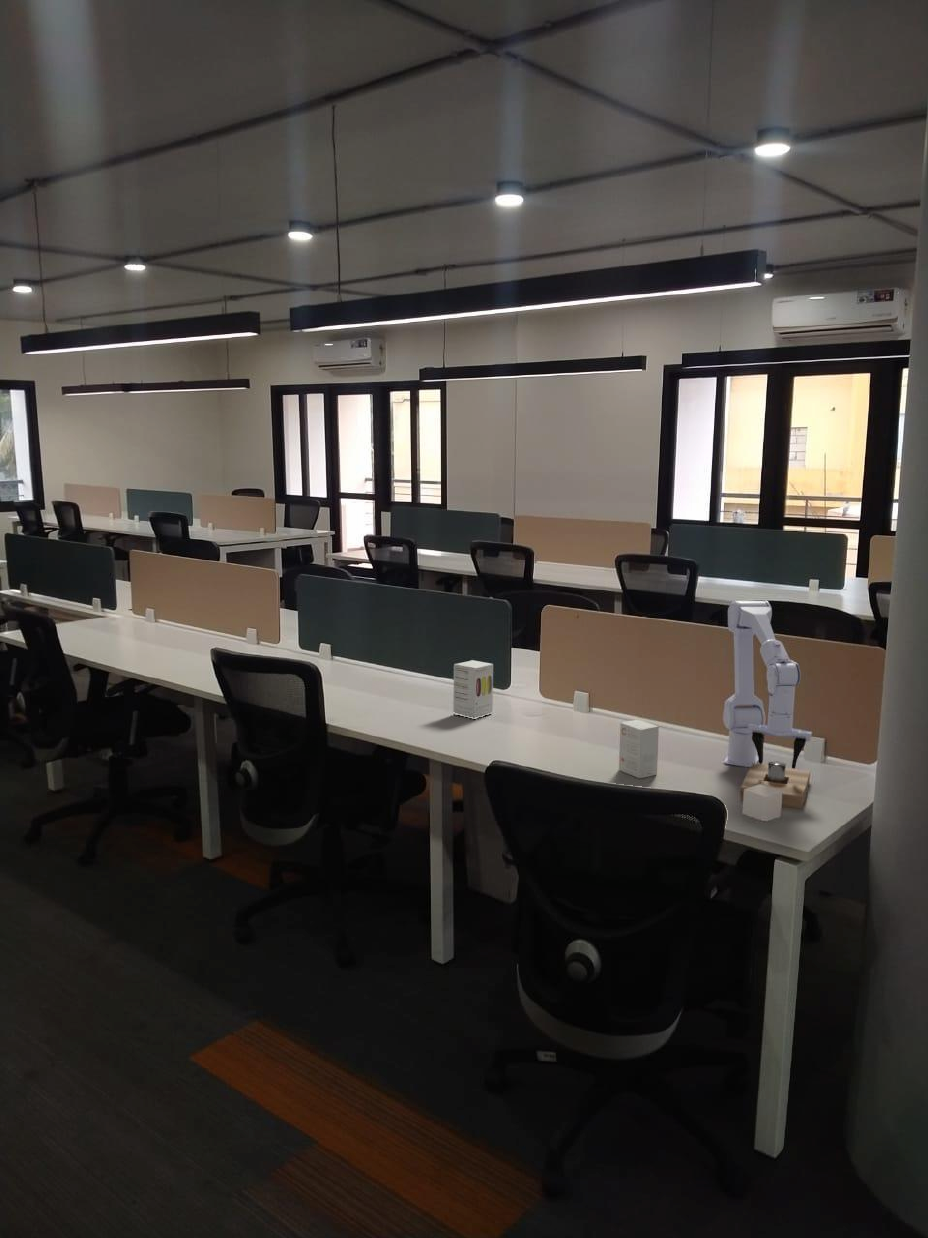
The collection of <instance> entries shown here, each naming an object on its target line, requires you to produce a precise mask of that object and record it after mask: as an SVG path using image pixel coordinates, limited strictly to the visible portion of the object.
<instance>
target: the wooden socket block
mask: <svg viewBox="0 0 928 1238" xmlns="http://www.w3.org/2000/svg"><path fill="white" fill-rule="evenodd" d="M810 777H811V771H810V770H803V769H796V768H795V769H793V768H790V767H786V769H785V783H784V784H782V783H775V782H768V781H767V779H768V765H767V764H763V763H762V764H759V763H757V764H755V763H752V765H751V767H749V770H748V772H747V773H746V776H745V778H744V779H743V782H742V784H741V786H740V791H739V792H740V793H739V800H741V799H743V797H744V789H747V788H750V787H753V786H756V785H759V784H761V785H764V786H767V787H770V788H773V789H776V790H779V791H782V806H781V807H786V808H792V809H799V810H802V809H803V806H804V803H805V800H806V795H807V792H808V789H809V786H810Z"/></svg>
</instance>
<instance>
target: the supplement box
mask: <svg viewBox="0 0 928 1238" xmlns="http://www.w3.org/2000/svg"><path fill="white" fill-rule="evenodd" d="M493 690H494V664H493V663H492V662H491V663H489V662H484V661H479V660H474V659H471V660H469V661H464V662H458V663H454V664H453V698H452V699H453V701H452V704H453V707H452V708H453V709H452V710H453V712H455V713H458V714H462V715H465V716H469V717H473V718H475V717H478V716H482V715H485V714H488V713H491V712H492V713H493V696H494V695H493V694H494V691H493Z"/></svg>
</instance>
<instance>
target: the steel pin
mask: <svg viewBox="0 0 928 1238" xmlns="http://www.w3.org/2000/svg"><path fill="white" fill-rule="evenodd" d="M767 764H768V779H767V781H768V782H775V783H782V784H784V783H785V769H786V768H787V767H786V766H787V765H786V763H785V762H782V761H777V760H770V761H769V762H768V763H767Z"/></svg>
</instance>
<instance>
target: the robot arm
mask: <svg viewBox="0 0 928 1238" xmlns="http://www.w3.org/2000/svg"><path fill="white" fill-rule="evenodd" d="M772 610H773V609H772V606H771V604H770V602H769V601H768V600H738V601H737V600H733V601H731V603H730V604H729V606H728V609H727V627H728V631H729V632H731V633H733V656H734V657H733V658H734V663H733V664H734V665H733V666H734V694H732V695H731V696H730V697H728V698H727V699H726V700H725V701H724V707H723V708H724V709H723V712H722V722H723V725H724V727H726V728H725V729H727V730H728V747H727V756H726V758H725V759H724V761H723V763H724V764H727V765H733V766H737V767H738V766H739V767H746V768H750V767H751V765H752V763H755V764H762V765H763V761H764V743H765V736H771V737H778V738H785V739H786V738H787V739H794V741H793V757H792V761H791V769H796V765H797V761H798V759H799V756H800V754H801V752H802V750H803V749H804V748H805V747H804V746H806V743H807V742H811V741H812V733H813V732H812V731H808V730H803V729H798V728H794V727H793V723H794V709H795V696H796V695H795V693H796V687H798V686H799V684H800V683H801V679H802V675H801V674H802V673H801V672H802V671H801V669H800V665H799V664H798V662H796V661H794V659H790V657H789V655H788V653H787V650H786V648H785V646H784V644H783V642H782V641H780V640H777V639H776V636H775V633H774V630H773V628H772V624H771V621H772V615H773V611H772ZM754 636H756V638H757V640H758V641H759V643H760V645H761V646H760V648H759V653H760V656H761V658H762V660H763V662H764V665H765V667H766V669H767V670H766V681H767V692H769V698H768V711H767V724H766V712H765V709H764V702H763V700H762V699H760V698H759V697H758V696H757V695H755V683H754V682H755V677H754V676H755V675H754V674H755V672H754Z"/></svg>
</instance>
